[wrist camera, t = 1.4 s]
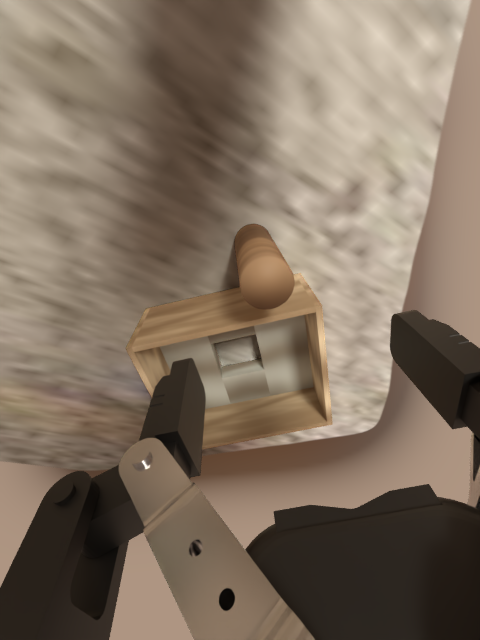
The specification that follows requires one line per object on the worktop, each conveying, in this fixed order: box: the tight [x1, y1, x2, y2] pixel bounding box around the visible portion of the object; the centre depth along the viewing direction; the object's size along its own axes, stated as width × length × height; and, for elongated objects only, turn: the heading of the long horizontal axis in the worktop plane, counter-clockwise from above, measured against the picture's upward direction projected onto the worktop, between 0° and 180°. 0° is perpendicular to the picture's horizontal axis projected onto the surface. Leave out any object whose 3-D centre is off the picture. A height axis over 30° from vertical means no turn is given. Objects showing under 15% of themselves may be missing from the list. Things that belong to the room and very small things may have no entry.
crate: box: [126, 273, 332, 449], centre depth 29 cm, size 14×16×7 cm
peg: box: [234, 224, 295, 310], centre depth 22 cm, size 3×3×10 cm
